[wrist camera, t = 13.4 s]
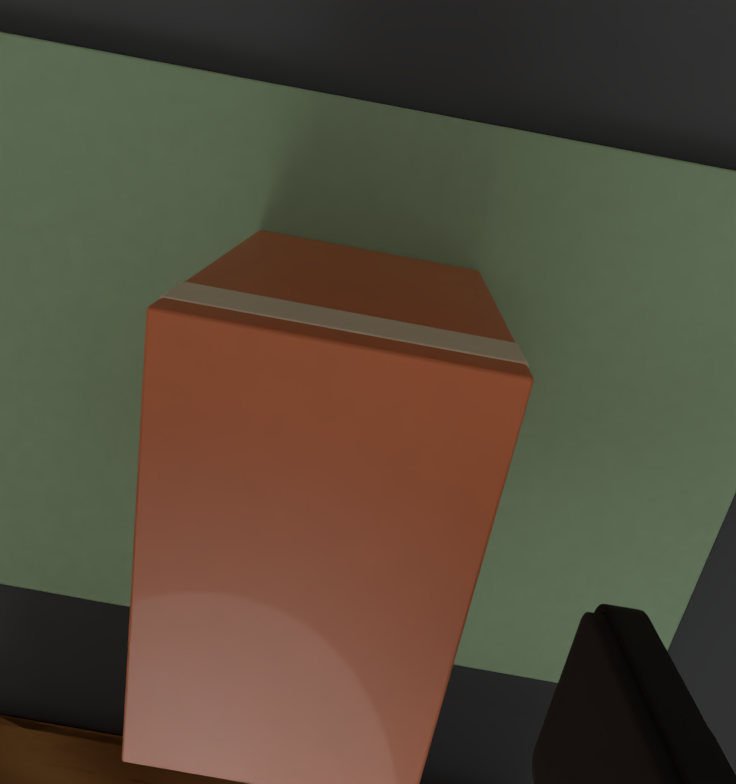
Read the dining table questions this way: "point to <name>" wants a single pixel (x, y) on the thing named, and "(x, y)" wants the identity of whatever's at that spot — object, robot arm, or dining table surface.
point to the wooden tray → (75, 758)
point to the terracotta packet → (312, 509)
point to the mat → (386, 235)
